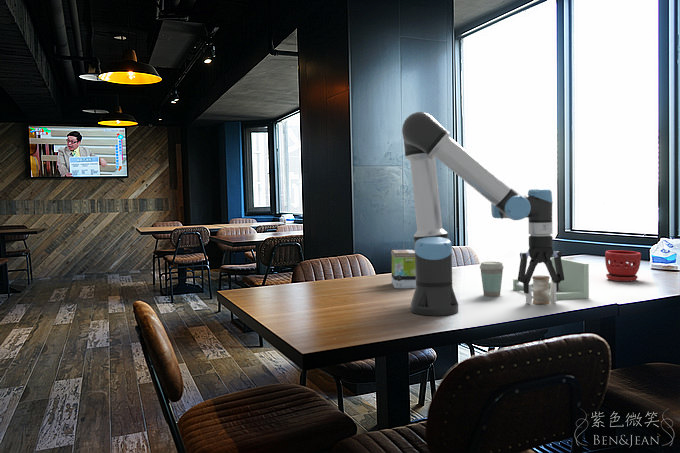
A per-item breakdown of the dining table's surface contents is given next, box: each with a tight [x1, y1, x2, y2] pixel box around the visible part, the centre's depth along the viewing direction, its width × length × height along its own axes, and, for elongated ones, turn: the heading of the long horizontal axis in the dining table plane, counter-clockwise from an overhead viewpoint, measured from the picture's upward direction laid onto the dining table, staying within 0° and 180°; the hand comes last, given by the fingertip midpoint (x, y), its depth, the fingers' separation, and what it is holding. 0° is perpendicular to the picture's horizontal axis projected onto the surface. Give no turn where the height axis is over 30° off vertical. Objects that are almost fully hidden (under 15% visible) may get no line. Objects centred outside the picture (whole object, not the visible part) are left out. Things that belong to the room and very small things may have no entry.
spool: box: [531, 275, 551, 306], centre depth 180 cm, size 5×5×9 cm
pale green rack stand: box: [512, 256, 590, 301], centre depth 197 cm, size 17×23×12 cm
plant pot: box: [604, 249, 642, 282], centre depth 222 cm, size 13×13×12 cm
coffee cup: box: [479, 261, 504, 298], centre depth 197 cm, size 8×8×12 cm
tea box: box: [390, 249, 416, 289], centre depth 224 cm, size 15×10×15 cm
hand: (541, 302), depth 180 cm, fingers open, 8 cm apart
